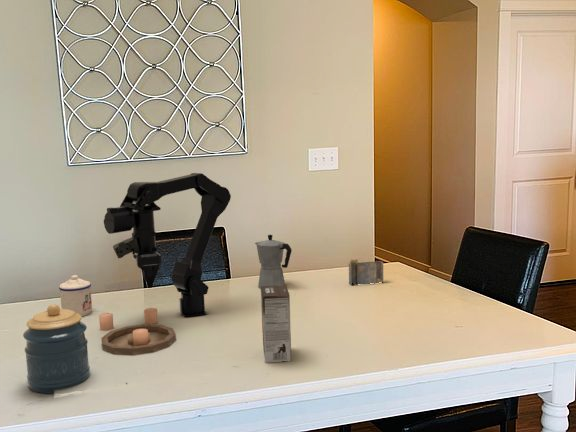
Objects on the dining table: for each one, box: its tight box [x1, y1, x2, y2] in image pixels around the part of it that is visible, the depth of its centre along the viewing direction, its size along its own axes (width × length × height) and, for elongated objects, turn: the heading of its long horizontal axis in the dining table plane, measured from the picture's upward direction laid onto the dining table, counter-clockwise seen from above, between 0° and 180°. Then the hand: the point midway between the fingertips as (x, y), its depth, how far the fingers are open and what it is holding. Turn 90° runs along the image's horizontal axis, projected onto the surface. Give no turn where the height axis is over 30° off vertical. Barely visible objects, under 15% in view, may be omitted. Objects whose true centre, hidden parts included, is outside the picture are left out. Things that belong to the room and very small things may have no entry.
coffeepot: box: [254, 234, 293, 290], centre depth 212 cm, size 15×9×18 cm, turn 51°
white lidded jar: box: [58, 274, 93, 317], centre depth 190 cm, size 12×9×12 cm
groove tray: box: [101, 323, 177, 356], centre depth 160 cm, size 18×18×3 cm
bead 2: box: [133, 329, 149, 346], centre depth 155 cm, size 4×4×4 cm
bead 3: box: [143, 307, 159, 325], centre depth 176 cm, size 4×4×4 cm
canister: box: [22, 303, 91, 394], centre depth 137 cm, size 13×13×18 cm
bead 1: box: [98, 312, 115, 331], centre depth 172 cm, size 4×4×4 cm
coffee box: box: [260, 284, 292, 364], centre depth 150 cm, size 9×6×16 cm
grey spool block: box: [348, 258, 384, 286], centre depth 213 cm, size 11×3×10 cm, turn 99°
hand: (147, 283), depth 175 cm, fingers open, 9 cm apart
